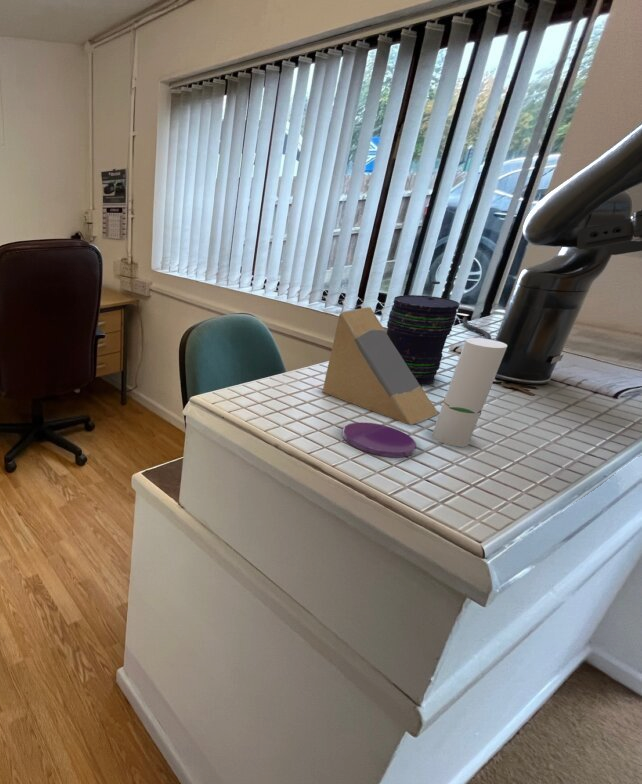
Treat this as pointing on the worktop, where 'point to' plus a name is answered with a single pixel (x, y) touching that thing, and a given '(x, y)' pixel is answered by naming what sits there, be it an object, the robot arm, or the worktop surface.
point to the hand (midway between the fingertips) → (594, 243)
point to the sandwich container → (373, 371)
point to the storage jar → (421, 332)
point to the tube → (468, 390)
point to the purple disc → (379, 439)
